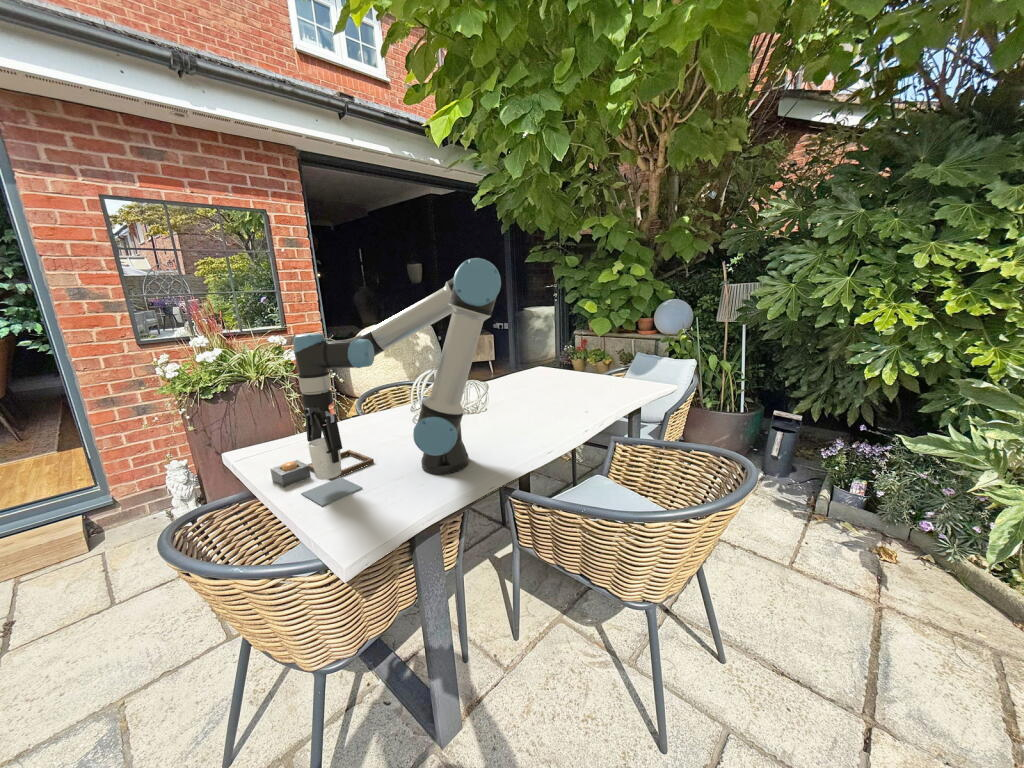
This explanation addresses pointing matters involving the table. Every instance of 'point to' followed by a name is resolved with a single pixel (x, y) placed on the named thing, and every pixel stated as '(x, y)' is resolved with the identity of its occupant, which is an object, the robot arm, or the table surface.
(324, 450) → the white cup
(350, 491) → the mat
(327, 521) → the table surface
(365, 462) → the collar
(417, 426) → the robot arm
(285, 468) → the orange rounded block
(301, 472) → the housing
